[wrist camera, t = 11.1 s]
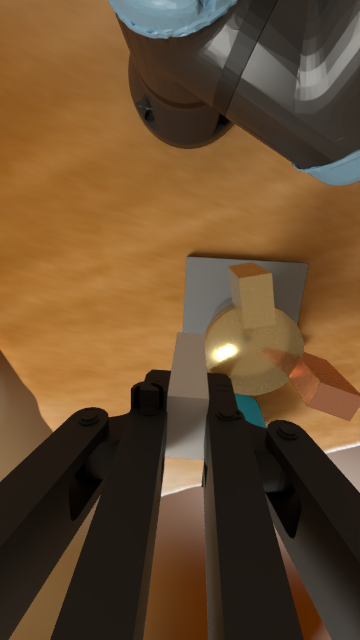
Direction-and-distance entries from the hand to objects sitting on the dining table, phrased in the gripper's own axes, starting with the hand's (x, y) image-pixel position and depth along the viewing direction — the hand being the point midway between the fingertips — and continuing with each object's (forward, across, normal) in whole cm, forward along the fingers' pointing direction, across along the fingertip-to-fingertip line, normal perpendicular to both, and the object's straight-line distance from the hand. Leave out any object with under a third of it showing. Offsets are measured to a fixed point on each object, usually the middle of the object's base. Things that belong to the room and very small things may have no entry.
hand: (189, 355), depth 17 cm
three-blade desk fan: (+20, +10, -8) cm, 24 cm away
